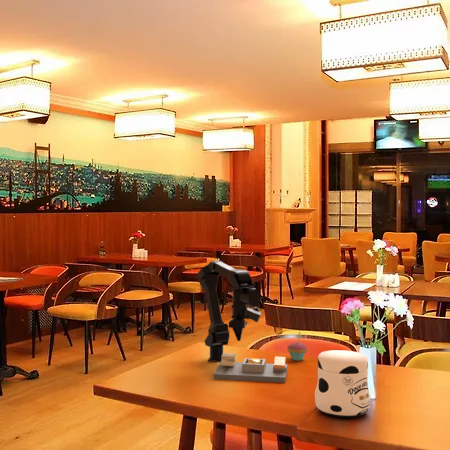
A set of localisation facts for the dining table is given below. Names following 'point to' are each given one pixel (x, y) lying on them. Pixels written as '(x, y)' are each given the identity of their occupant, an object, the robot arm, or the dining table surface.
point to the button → (254, 361)
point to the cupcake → (297, 350)
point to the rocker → (280, 362)
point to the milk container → (342, 383)
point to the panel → (251, 372)
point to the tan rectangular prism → (228, 359)
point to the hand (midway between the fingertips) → (238, 340)
